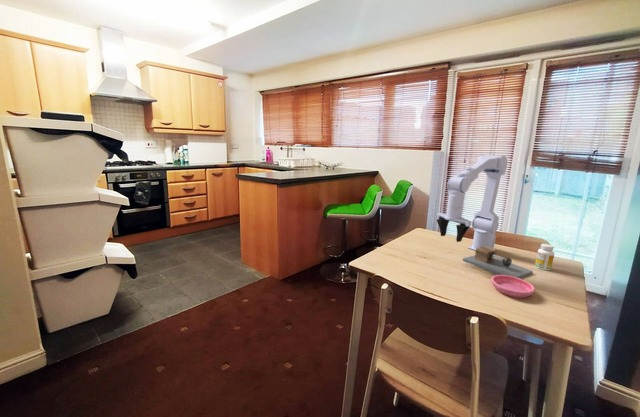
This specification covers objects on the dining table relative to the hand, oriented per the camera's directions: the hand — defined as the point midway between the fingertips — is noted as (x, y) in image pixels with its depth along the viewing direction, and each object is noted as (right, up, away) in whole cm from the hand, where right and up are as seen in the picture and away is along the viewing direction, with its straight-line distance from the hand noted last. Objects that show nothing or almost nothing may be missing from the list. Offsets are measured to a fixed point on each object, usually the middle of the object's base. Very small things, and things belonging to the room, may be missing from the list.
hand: (450, 238), depth 119 cm
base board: (+17, -11, -2) cm, 21 cm away
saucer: (+11, -16, -21) cm, 29 cm away
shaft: (+17, -9, -2) cm, 20 cm away
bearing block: (+15, -10, +2) cm, 18 cm away
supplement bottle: (+37, -12, -2) cm, 39 cm away
